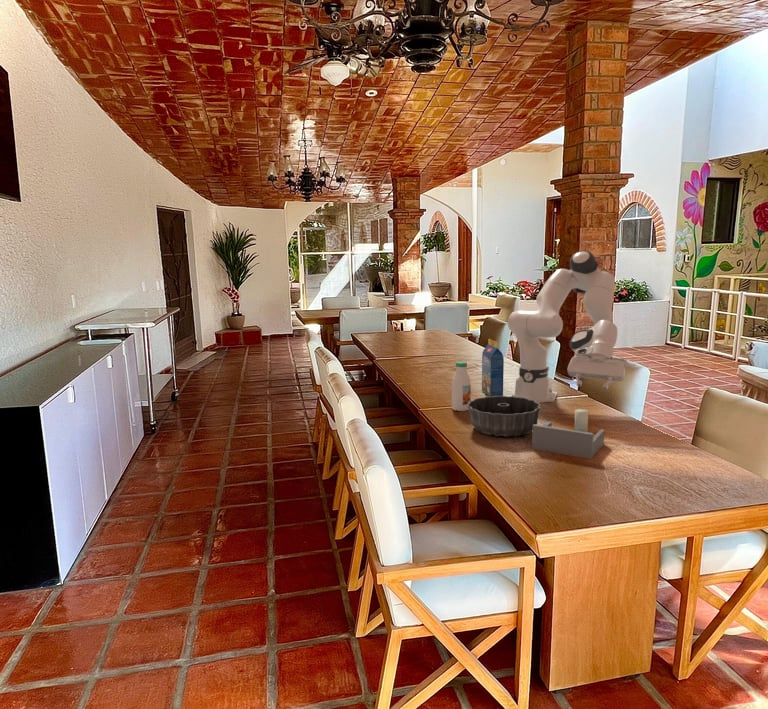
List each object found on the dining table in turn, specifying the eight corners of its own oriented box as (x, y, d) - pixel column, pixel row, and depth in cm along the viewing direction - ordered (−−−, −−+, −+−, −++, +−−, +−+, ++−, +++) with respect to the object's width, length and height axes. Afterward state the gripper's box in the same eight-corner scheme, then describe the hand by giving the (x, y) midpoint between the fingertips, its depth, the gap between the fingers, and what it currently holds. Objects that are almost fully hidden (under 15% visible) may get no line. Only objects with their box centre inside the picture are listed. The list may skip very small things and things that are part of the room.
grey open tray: (547, 434, 200) (548, 413, 199) (603, 444, 190) (604, 421, 188) (532, 448, 187) (532, 425, 185) (591, 459, 176) (592, 434, 175)
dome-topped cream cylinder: (576, 431, 204) (577, 408, 202) (588, 433, 201) (589, 410, 200) (572, 434, 200) (573, 411, 198) (585, 436, 197) (586, 413, 196)
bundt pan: (451, 430, 208) (451, 403, 207) (497, 415, 225) (497, 391, 223) (509, 447, 188) (510, 418, 187) (554, 430, 205) (555, 404, 203)
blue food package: (490, 397, 253) (490, 342, 248) (481, 391, 264) (482, 338, 260) (503, 396, 254) (504, 342, 249) (494, 390, 265) (495, 338, 261)
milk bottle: (456, 412, 231) (456, 364, 227) (449, 407, 238) (449, 361, 234) (473, 410, 233) (473, 363, 229) (465, 405, 240) (466, 359, 236)
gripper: (629, 363, 211) (622, 394, 204) (574, 359, 222) (565, 388, 215) (627, 354, 206) (620, 385, 200) (571, 349, 217) (562, 379, 211)
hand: (591, 386), depth 208 cm, fingers open, 8 cm apart
